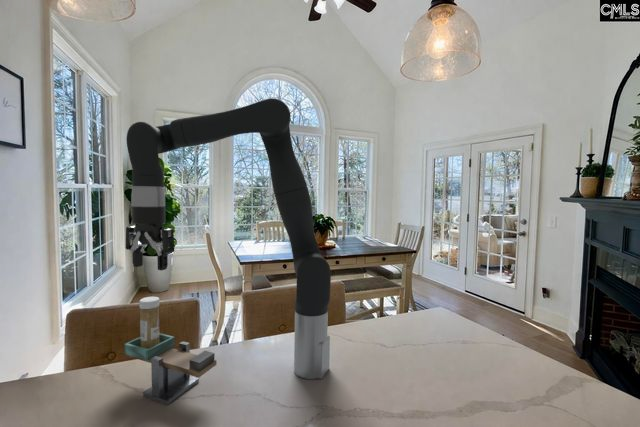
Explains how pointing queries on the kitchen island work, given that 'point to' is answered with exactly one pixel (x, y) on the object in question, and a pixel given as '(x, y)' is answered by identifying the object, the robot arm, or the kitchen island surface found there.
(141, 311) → the sprinkles bottle
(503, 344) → the kitchen island surface
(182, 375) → the fulcrum stand
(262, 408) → the kitchen island surface
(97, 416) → the kitchen island surface
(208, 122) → the robot arm
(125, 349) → the beam
